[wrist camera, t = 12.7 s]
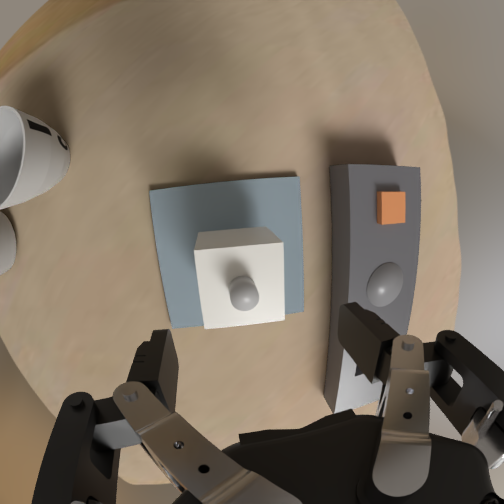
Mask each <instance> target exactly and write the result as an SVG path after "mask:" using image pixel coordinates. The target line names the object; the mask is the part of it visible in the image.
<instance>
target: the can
mask: <svg viewBox="0 0 504 504" xmlns="http://www.w3.org/2000/svg"><path fill="white" fill-rule="evenodd" d="M15 256H16V238H15V233H14V230H13V227H12V225H11V223H10V221H9V219H8V218H7V216H6V215H5V214H3V213H2V212H1V211H0V275H1V274H3V273H5V272H6V271H8V270H9V269H10V268H11V267H12V265H13V263H14V261H15Z"/></svg>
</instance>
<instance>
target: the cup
mask: <svg viewBox="0 0 504 504" xmlns="http://www.w3.org/2000/svg"><path fill="white" fill-rule="evenodd" d="M69 164H70V151H69V147H68V145H67V144H66V142H65V141H64V140H63V139H62V137H61V136H60V135H59V134H58V133H57V132H56V131H55V130H54V129H52V128H51V127H49V126H48V125H47V124H45V123H44V122H42V121H41V120H40V119H38V118H36V117H33V116H31V115H29V114H26V113H24V112H22V111H19V110H17V109H15V108H12V107H10V106H0V210H1V209H4V208H7V207H10V206H13V205H17V204H20V203H23V202H26V201H28V200H30V199H32V198H34V197H36V196H38V195H40V194H42V193H44V192H46V191H48V190H49V189H50V188H52V187H53V186H54V185H56V184H57V183H58V182H59V181H61V180H62V179H63V177H64V176H65V174H66V173H67V170H68V168H69Z"/></svg>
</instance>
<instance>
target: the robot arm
mask: <svg viewBox="0 0 504 504" xmlns="http://www.w3.org/2000/svg"><path fill="white" fill-rule="evenodd" d="M338 339H339V342H340V344H341V345H342V346H343V348H344V349H345V350H346V352H347V353H348V354H349V356H350V357H351V358H352V359H353V361H354V362H355V363H356V365H357V366H358V367H359V368H360V370H361V371H362V372H363V374H364V375H365V376H366V378H367V379H368V380H369V382H370V383H371V384H374V383H377V382H379V381H381V382H382V387H381V391H380V396H379V401H378V406H377V411H376V415H375V416H374V415H355V413H354V412H353V410H352V408H351V409H348V410H345V411H341V412H338V413H335V414H331V415H328V416H325V417H323V418H321V419H319V420H317V421H315V422H313V423H311V424H309V425H307V426H305V427H303V428H301V429H282V430H262V431H256V432H250V433H243V434H239V439H240V442H238V443H235V444H233V445H231V446H228V447H227V448H225V449H223V450H222V451H221V450H219V449H218V448H217V447H216V446H214V445H213V444H212V443H211V442H210V441H208V440H207V439H206V438H205V437H204V436H203V435H201V434H200V433H199V432H198V431H197V430H196V429H195V428H194V427H192V426H191V425H190V424H189V423H188V422H187V421H186V420H185V419H184V418H183V417H182V416H181V415H179V414H178V413H177V412H175V404H176V392H177V380H178V370H179V365H178V358H177V354H176V350H175V346H174V343H173V339H172V335H171V331H170V330H169V329H163V330H153V333H152V336H151V339H150V341H144V342H143V343H142V344H141V345H140V346H139V347H138V348H137V351H136V354H135V357H134V360H133V363H132V366H131V369H130V372H129V375H128V378H127V381H126V383H123V384H121V385H120V386H118V387H117V388H116V389H115V390H114V392H113V396H112V397H109V398H105V399H100V400H95V401H94V399H93V398H92V396H91V395H90V394H88V393H86V392H76V393H73V394H71V395H69V396H68V397H67V398H66V399H65V400H64V402H63V404H62V407H61V409H60V412H59V414H58V417H57V419H56V422H55V425H54V428H53V431H52V433H51V436H50V439H49V442H48V445H47V448H46V451H45V454H44V457H43V461H42V464H41V467H40V471H39V475H38V478H37V482H36V487H35V490H34V495H33V499H32V504H116V492H117V479H118V468H119V459H120V450H121V448H124V447H128V446H133V445H137V444H140V445H141V447H142V448H143V449H144V451H145V452H146V453H147V454H148V456H149V457H150V458H151V459H152V460H153V462H154V463H155V464H156V465H157V466H158V468H159V469H160V470H161V471H162V472H163V473H164V475H165V476H166V477H167V478H168V479H169V480H170V482H171V483H172V484H173V485H174V486H175V487H176V488H177V489H178V490H179V491H180V492H181V493H182V494H181V495H180V496H179V497H178V498H177V499H176V500H175V501H174V502H173V503H172V504H504V499H502V498H500V497H499V496H498V495H496V493H495V492H494V489H493V486H492V483H491V480H490V475H489V469H494V468H497V467H499V466H500V465H501V464H502V463H503V462H504V371H503V370H502V369H501V368H500V367H498V366H497V365H496V364H495V363H494V362H493V361H492V360H490V359H489V358H488V357H487V356H486V355H484V354H483V353H482V352H481V351H480V350H479V349H477V348H476V347H475V346H474V345H473V344H471V343H470V342H469V341H468V340H466V339H465V338H464V337H463V336H461V335H460V334H459V333H457V332H455V331H451V330H443V331H441V332H439V333H438V334H437V337H436V341H435V342H428V343H422V341H421V340H420V339H419V338H417V337H415V336H412V335H400V334H399V333H397V332H396V331H395V330H394V329H393V328H392V327H391V326H390V325H388V324H387V323H386V322H385V321H384V320H383V319H381V318H380V317H379V316H378V315H377V314H376V313H374V312H372V311H370V310H367V309H364V308H363V307H361V306H360V305H359V304H358V303H357V302H351V303H346V304H342V305H341V306H340V308H339V320H338ZM453 369H455V370H456V371H457V372H458V373H459V374H460V375H461V376H462V378H463V387H462V388H461V387H460V386H459V385H458V384H457V383H456V381H455V380H454V379H453V378H452V377H451V374H452V371H453ZM430 397H431V398H432V400H433V401H434V402H435V403H436V404H437V406H438V407H439V408H440V409H441V411H442V412H443V413H444V414H445V415H446V417H447V418H448V419H449V421H450V422H451V423H452V424H453V426H454V427H455V428H456V430H457V431H458V432H459V433H460V435H461V436H462V441H458V440H454V439H450V438H446V437H442V436H439V435H435V434H432V433H429V419H430Z"/></svg>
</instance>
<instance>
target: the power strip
mask: <svg viewBox="0 0 504 504" xmlns="http://www.w3.org/2000/svg"><path fill="white" fill-rule="evenodd" d="M329 167H330V184H331V207H332V295H331V317H330V334H329V348H328V360H327V371H326V381H325V390H324V398H325V400H326V402H327V403H328V405H329V407H330V409H331V411H332V413H333V414H335V413H338V412H341V411H345V410H348V409H351V408H352V409H355V408H358V407H361V406H364V405H366V404H369V403H372V402H375V401H377V400H379V396H380V391H381V387H382V382H381V381H379V382H377V383H374V384H371V383H370V382H369V380H368V379H367V378H366V376H365V375H364V374H363V372H362V371H361V370H360V368H359V367H358V366H357V365H356V363H355V362H354V361H353V359H352V358H351V357H350V356H349V354H348V353H347V352H346V350H345V349H344V348H343V346H342V345H341V344H340V342H339V339H338V320H339V308H340V306H341V305H342V304H346V303H351V302H357V303H358V304H359V305H360V306H361V307H363V308H364V309H367V310H370V311H372V312H374V313H376V314H377V315H378V316H379V317H380V318H381V319H383V320H384V321H385V322H386V323H387V324H388V325H390V326H391V327H392V328H393V329H394V330H395V331H396V332H397V333H399V334H400V335H407V330H408V325H409V320H410V315H411V309H412V303H413V297H414V290H415V283H416V274H417V265H418V255H419V241H420V221H421V179H420V167H406V166H390V165H367V164H344V165H333V166H329Z"/></svg>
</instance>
